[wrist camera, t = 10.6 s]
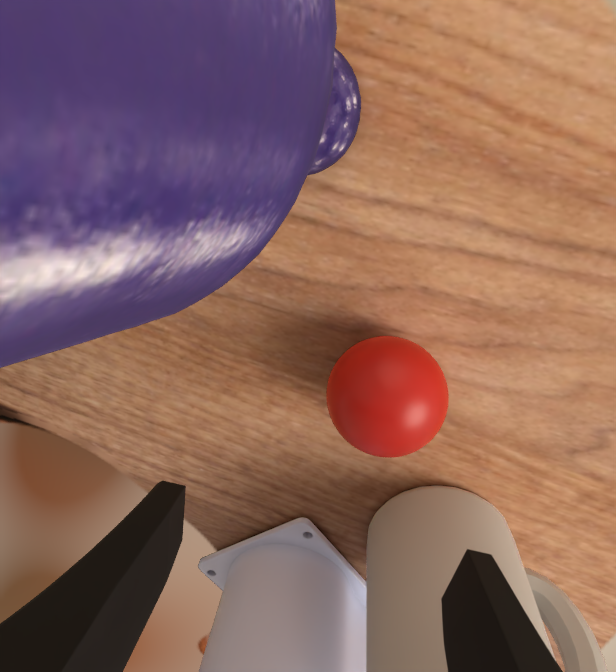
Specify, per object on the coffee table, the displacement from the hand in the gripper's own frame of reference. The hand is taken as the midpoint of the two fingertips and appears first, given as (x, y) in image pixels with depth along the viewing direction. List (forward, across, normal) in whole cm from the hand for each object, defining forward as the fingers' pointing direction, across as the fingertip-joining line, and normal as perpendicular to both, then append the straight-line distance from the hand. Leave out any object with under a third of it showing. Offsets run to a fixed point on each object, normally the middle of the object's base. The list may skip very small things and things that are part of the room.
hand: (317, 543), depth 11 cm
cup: (+9, -8, +9) cm, 15 cm away
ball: (+7, -2, 0) cm, 7 cm away
